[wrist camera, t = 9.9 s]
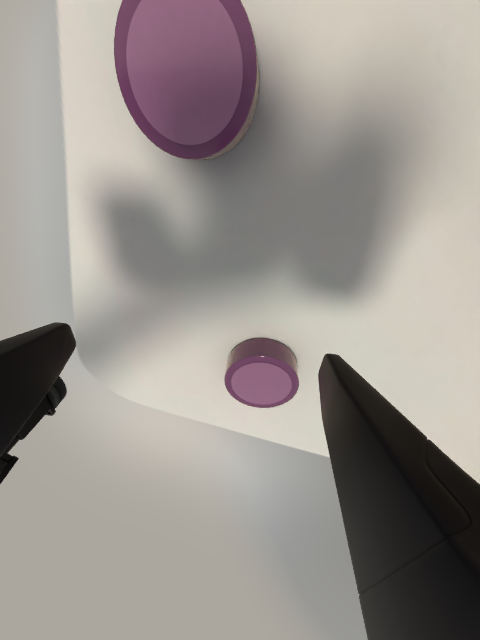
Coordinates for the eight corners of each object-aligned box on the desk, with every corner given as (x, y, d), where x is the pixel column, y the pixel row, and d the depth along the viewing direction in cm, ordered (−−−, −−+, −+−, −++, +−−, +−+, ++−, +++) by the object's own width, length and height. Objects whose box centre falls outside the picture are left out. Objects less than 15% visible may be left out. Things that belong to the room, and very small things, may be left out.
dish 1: (145, 153, 15) (125, 152, 13) (128, -15, 11) (97, -54, 9) (251, 164, 15) (248, 165, 12) (267, -3, 11) (267, -41, 9)
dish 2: (226, 383, 25) (222, 403, 23) (230, 333, 22) (226, 351, 19) (288, 392, 25) (290, 413, 23) (303, 343, 21) (307, 362, 19)
